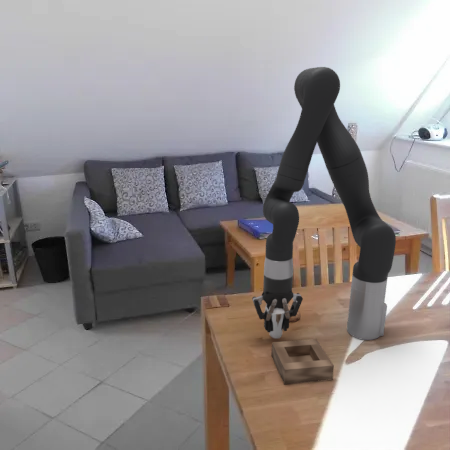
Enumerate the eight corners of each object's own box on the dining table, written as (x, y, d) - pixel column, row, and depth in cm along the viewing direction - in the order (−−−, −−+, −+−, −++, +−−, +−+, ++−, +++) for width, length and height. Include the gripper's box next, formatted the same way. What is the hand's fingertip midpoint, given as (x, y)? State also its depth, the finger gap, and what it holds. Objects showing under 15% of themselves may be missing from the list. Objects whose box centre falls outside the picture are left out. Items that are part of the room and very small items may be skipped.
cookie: (297, 326, 141) (297, 317, 140) (261, 320, 144) (262, 311, 143) (302, 311, 150) (303, 302, 149) (269, 305, 153) (269, 297, 152)
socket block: (315, 352, 128) (316, 338, 127) (332, 379, 117) (333, 365, 115) (271, 355, 126) (271, 342, 125) (284, 384, 115) (284, 369, 113)
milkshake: (286, 341, 131) (288, 307, 128) (266, 338, 132) (267, 305, 129) (287, 332, 135) (289, 300, 132) (268, 330, 136) (269, 298, 133)
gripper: (299, 265, 132) (297, 321, 138) (248, 268, 130) (247, 325, 135) (309, 276, 125) (305, 335, 131) (255, 280, 123) (254, 339, 128)
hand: (276, 329), depth 133 cm, fingers closed on milkshake, 4 cm apart
